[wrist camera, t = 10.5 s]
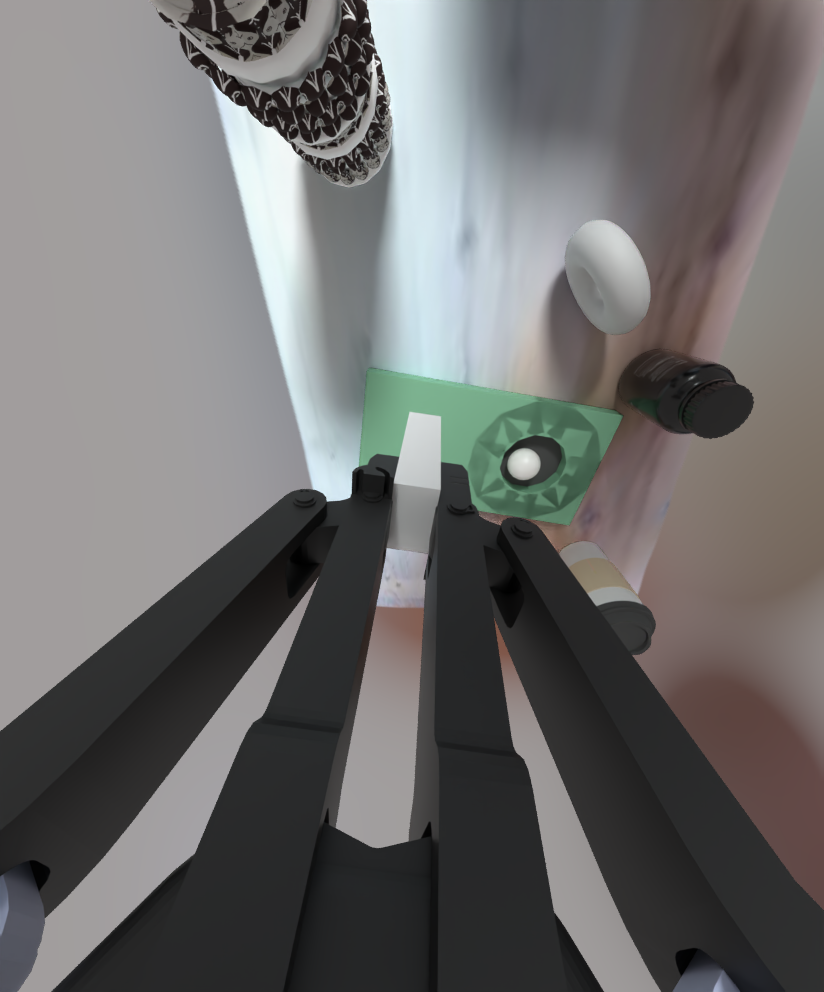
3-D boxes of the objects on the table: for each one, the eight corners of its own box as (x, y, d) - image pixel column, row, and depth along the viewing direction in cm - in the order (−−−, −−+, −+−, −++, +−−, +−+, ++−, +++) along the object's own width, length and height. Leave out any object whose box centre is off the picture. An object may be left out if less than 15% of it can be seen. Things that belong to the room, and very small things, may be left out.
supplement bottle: (613, 412, 42) (669, 454, 32) (620, 353, 39) (687, 378, 28) (674, 404, 41) (753, 444, 31) (688, 342, 38) (781, 364, 28)
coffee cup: (537, 569, 56) (568, 654, 43) (570, 527, 51) (615, 609, 38) (586, 585, 57) (629, 673, 44) (622, 546, 53) (682, 631, 40)
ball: (506, 445, 43) (535, 459, 40) (523, 441, 45) (551, 453, 43) (497, 474, 45) (523, 488, 43) (513, 468, 47) (539, 481, 45)
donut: (618, 315, 37) (674, 324, 28) (586, 336, 38) (630, 351, 29) (581, 218, 33) (632, 196, 24) (547, 245, 34) (584, 233, 26)
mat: (369, 367, 41) (366, 371, 39) (615, 410, 42) (623, 415, 40) (359, 483, 49) (356, 491, 48) (564, 517, 50) (569, 525, 49)
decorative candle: (283, 43, 28) (-188, -701, 7) (397, 43, 28) (274, -743, 6) (300, 191, 33) (53, 24, 12) (397, 192, 33) (327, 22, 11)
